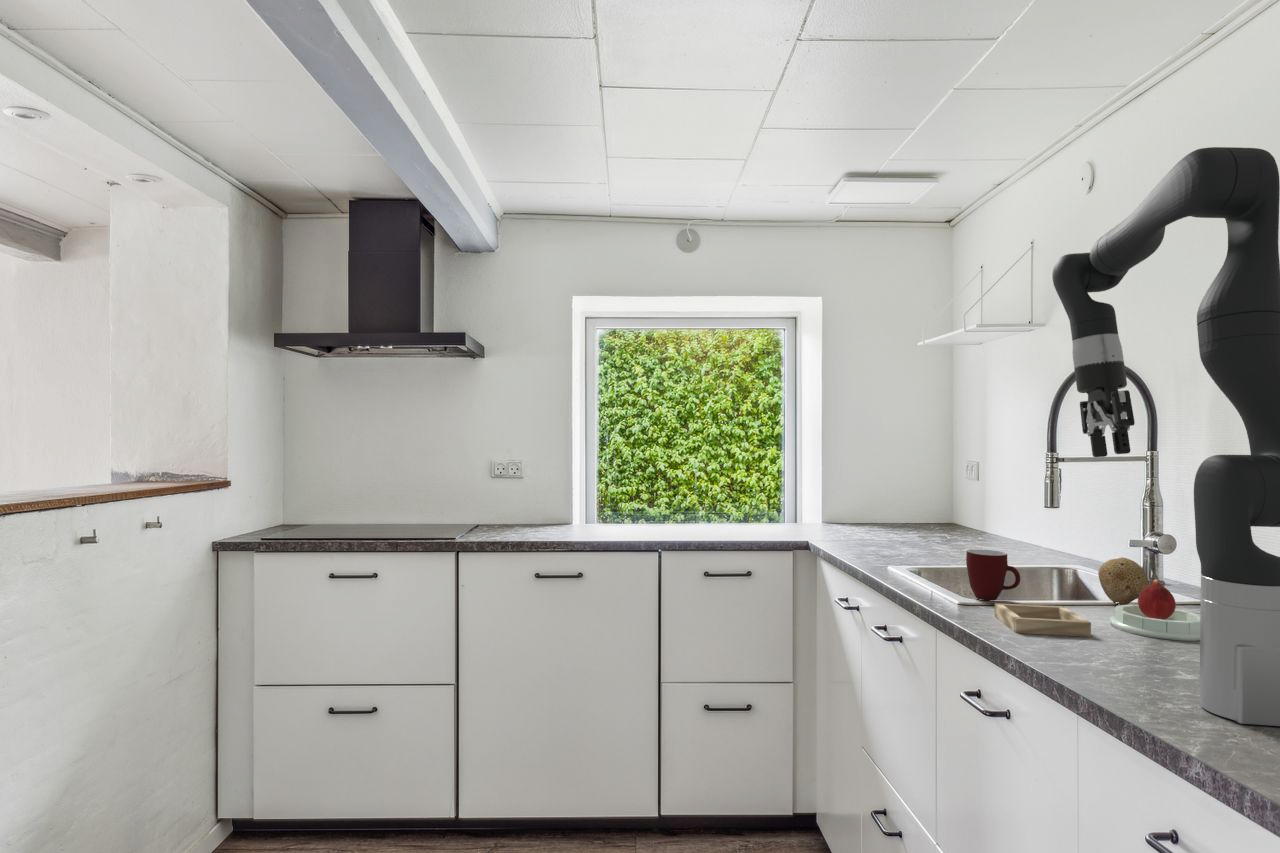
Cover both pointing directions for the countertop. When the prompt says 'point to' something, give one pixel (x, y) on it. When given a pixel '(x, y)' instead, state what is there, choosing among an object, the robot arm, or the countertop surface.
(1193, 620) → the dish
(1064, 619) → the holder
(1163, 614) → the onion
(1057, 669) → the countertop surface
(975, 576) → the mug
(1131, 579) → the natural sponge
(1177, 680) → the countertop surface
